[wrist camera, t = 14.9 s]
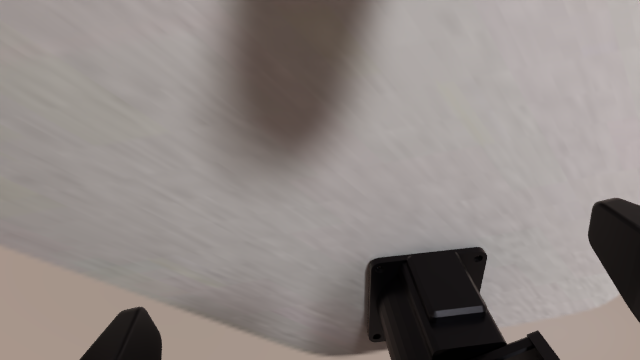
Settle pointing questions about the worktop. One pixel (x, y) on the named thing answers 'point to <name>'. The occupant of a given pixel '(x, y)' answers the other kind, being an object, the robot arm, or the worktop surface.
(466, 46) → the worktop surface
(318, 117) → the worktop surface
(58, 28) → the worktop surface
